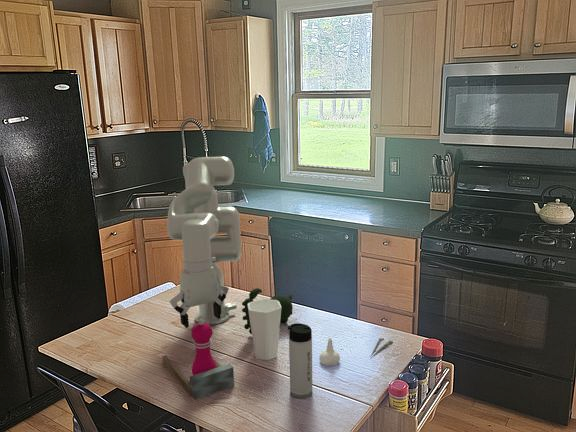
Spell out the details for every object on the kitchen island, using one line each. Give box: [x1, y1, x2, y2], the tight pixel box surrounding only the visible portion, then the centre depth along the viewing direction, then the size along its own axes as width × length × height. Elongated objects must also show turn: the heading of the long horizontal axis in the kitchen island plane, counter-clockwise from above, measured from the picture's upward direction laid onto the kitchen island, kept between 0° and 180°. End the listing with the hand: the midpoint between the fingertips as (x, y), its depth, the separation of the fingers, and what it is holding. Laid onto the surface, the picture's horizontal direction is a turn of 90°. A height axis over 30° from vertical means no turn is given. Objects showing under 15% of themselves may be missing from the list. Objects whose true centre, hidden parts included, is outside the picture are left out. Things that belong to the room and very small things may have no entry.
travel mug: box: [286, 322, 313, 399], centre depth 140 cm, size 6×7×20 cm
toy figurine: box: [241, 287, 293, 335], centre depth 180 cm, size 9×19×25 cm
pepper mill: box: [190, 319, 217, 376], centre depth 146 cm, size 7×7×20 cm
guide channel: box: [162, 355, 235, 401], centre depth 153 cm, size 12×24×6 cm, turn 33°
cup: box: [247, 298, 282, 361], centre depth 162 cm, size 11×10×17 cm
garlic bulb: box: [319, 337, 341, 367], centre depth 158 cm, size 6×6×8 cm
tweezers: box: [369, 337, 394, 359], centre depth 165 cm, size 17×5×2 cm, turn 148°
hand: (201, 321), depth 145 cm, fingers open, 9 cm apart
